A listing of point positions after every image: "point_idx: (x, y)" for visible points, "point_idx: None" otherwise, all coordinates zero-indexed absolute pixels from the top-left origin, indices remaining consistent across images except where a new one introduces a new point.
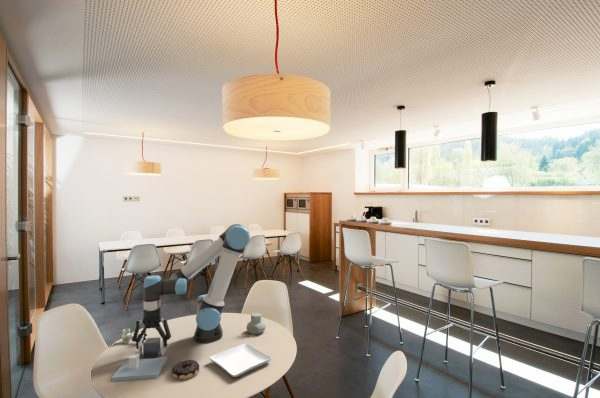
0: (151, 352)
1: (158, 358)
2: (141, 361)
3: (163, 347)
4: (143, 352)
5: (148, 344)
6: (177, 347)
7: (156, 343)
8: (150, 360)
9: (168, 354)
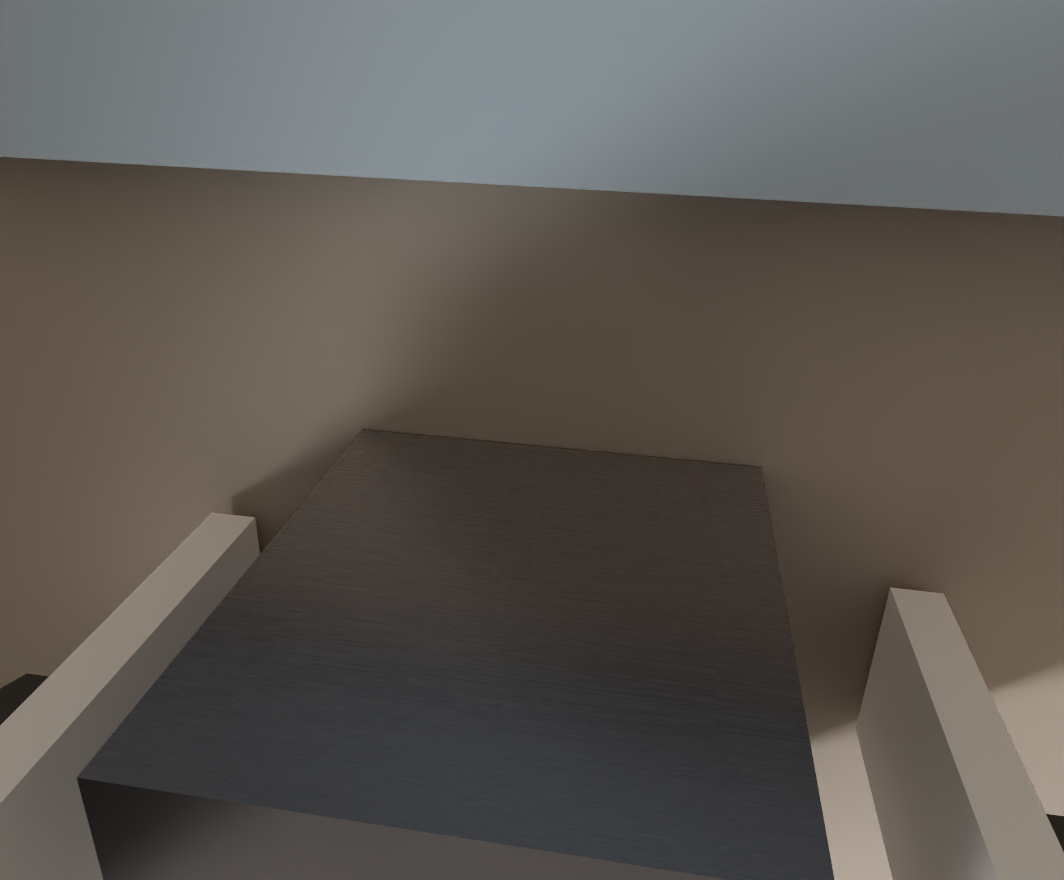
0: (470, 530)
1: (132, 151)
2: (722, 4)
3: (85, 668)
4: (769, 573)
5: (532, 790)
6: None
7: (107, 750)
8: (371, 33)
9: (106, 533)
